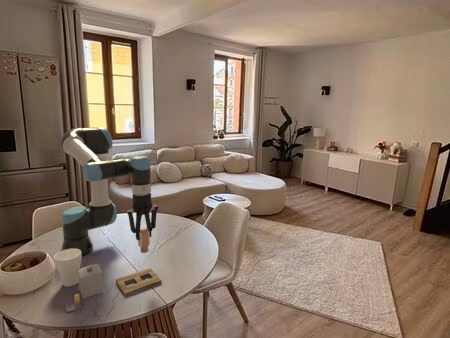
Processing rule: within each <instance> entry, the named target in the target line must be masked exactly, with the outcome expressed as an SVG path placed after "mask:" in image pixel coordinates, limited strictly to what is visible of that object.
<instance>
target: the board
mask: <svg viewBox="0 0 450 338" xmlns="http://www.w3.org/2000/svg"><path fill="white" fill-rule="evenodd" d="M147 277H148V279H146V280H143V279H144V278H147ZM133 282H134V284H132V285H131V283H133ZM115 283H116V285H117V287H118V288H119V289H120V292H122V295H123V296H124V297H128V296H130V295H133V294H136V293H139V292H141V291H144V290H147V289H149V288H153V287H155V286H158V285H161V284H162V279H161V278H160V277H159V276H158V275H157V273H156V272H154V271H153V269H152V268H151V267H150V268H146V269H143V270H140V271H138V272H135V273H131V274H127V275H125V276H121V277H119V278H116V279H115ZM126 284H130V285H129V286H127V285H126Z"/></svg>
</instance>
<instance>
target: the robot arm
mask: <svg viewBox="0 0 450 338" xmlns="http://www.w3.org/2000/svg"><path fill="white" fill-rule="evenodd" d="M60 146H61V149H62V150H63V151H64V153H66V154H67V155H70V156H71V157H73V158H74V159H75V161H77V163H78V164H79V165H80V166H81V167H82V174H83V177H84V179H85V180H86V181H87V182H90V192H91V193H90V194H91V201H90V202H89V203H88V207H86V206H84V205H79V206H78V205H77V206H73V207H69V208H67V209H66V210H64V211H63V212H62V213H61V221H60V222H61V227H62V235H63V237H62V238H63V241H62V244H61V249H60V251H63V250H66V249H79V250H81V252H82V257H84V256H87V255H88V254H90V253H92V252H93V251H94V245H93V241H92V240H91V238H90V235H89V231H90V230H94V229H98V228H102V227H107V226H109V225H112V224H114V223H115V222H116V220H117V218H118V210H117V206H116V203H113V201H112V200H111V199H110V198H109V194H110V193H109V182H108V181H109V180H110V179H115V178H116V179H117V178H125V177H131V189H132V190H131V191H132V192H131V193H132V206H131V208H130V209H129V210H128V209H127V210H126V211H125V212H126V214H127V216H128V222H129V228H130V231H131V232H132V234H135V239H136V241H137V244H138V245H137V247H139V248H140V249H141V248H142V233H140V229H141V225H142V224H141V223H142V217H143V215H144V220H145V225H146V228H147V235H148V247H150V246H151V240H150V239H151V238H152V236H153V235H152V231H153V229H156V225H157V212H158V210H159V207H158V206H157V205H156V204H153V203H152V193H151V192H152V185H151V184H152V183H151V163H150V162H151V161H150V158H149V156H146V155H135V156H134V155H133V156H132V157H126V156H125V157H121V158H118V159H113V160H112V159H111V160H107V156H108V154H109V150H111V149H112V148H113V137H112V136H111V133H110V131H109V130H108V129H107V128H106V127H99V126H98V127H76V128H71V129H69V130H67V131H65V133H64V134H63V135H62V136H61V139H60ZM150 211H151V215H150ZM134 213H135V214H136V215H135V219H134Z"/></svg>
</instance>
